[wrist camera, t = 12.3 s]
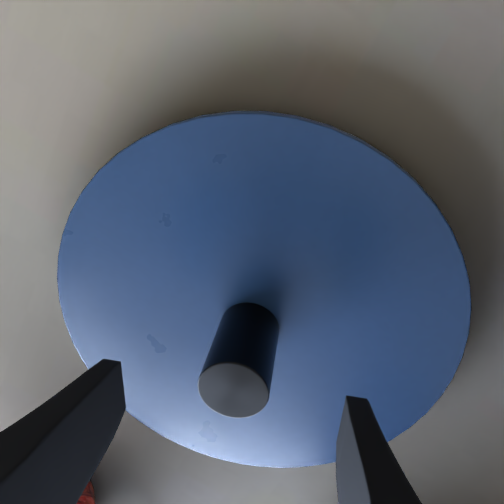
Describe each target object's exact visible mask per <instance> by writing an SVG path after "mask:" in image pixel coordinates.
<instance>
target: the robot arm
mask: <svg viewBox="0 0 504 504" xmlns="http://www.w3.org/2000/svg"><path fill="white" fill-rule="evenodd" d="M125 409H126V403H125V394H124V384H123V375H122V366H121V361H116V360H109V359H102V360H101V361H99V362H98V363H97V364H95V365H94V366H93V367H91V368H90V369H89V370H87V371H86V372H85V373H84V374H82V375H81V376H80V377H78V378H77V379H76V380H74V381H73V382H72V383H70V384H69V385H68V386H67V387H65V388H64V389H62V390H61V391H60V392H58V393H57V394H56V395H54V396H53V397H52V398H50V399H49V400H48V401H46V402H45V403H43V404H42V405H41V406H39V407H38V408H36V409H35V410H33V411H32V412H30V413H29V414H27V415H26V416H25V417H23V418H22V419H20V420H19V421H17V422H16V423H14V424H13V425H11V426H9V427H8V428H6V429H5V430H3V431H1V432H0V504H76V503H77V502H78V500H79V498H80V496H81V495H82V493H83V491H84V489H85V488H86V486H87V484H88V482H89V481H90V479H91V477H92V475H93V474H94V472H95V470H96V468H97V467H98V465H99V463H100V461H101V460H102V458H103V456H104V454H105V452H106V451H107V449H108V447H109V445H110V443H111V442H112V440H113V438H114V435H115V433H116V431H117V429H118V426H119V424H120V421H121V419H122V417H123V414H124V412H125ZM336 481H337V492H338V502H339V504H422V503H421V501H420V500H419V498H418V496H417V495H416V493H415V491H414V490H413V488H412V486H411V485H410V483H409V481H408V480H407V478H406V476H405V474H404V473H403V471H402V469H401V467H400V465H399V464H398V462H397V460H396V458H395V456H394V454H393V452H392V450H391V449H390V447H389V445H388V443H387V441H386V439H385V437H384V434H383V432H382V430H381V428H380V426H379V424H378V422H377V419H376V417H375V415H374V412H373V410H372V407H371V405H370V402H369V401H368V400H367V398H360V397H354V396H347V395H346V398H345V403H344V407H343V412H342V417H341V422H340V427H339V431H338V436H337V441H336Z"/></svg>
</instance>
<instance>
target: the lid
mask: <svg viewBox="0 0 504 504" xmlns="http://www.w3.org/2000/svg"><path fill="white" fill-rule="evenodd" d="M57 282H58V291H59V301H60V305H61V309H62V313H63V317H64V321H65V324H66V326H67V329H68V331H69V334H70V337H71V339H72V342H73V344H74V345H75V347H76V349H77V351H78V353H79V355H80V357H81V359H82V360H83V362H84V363H85V365H86V366H87V368H88V369H90V368H91V367H93V366H94V365H95V364H97V363H98V362H99V361H101V360H102V359H109V360H116V361H121V366H122V375H123V384H124V394H125V403H126V409H125V410H126V411H127V412H128V413H130V414H131V415H132V416H133V417H135V418H136V419H137V420H139V421H140V422H141V423H143V424H144V425H146V426H147V427H149V428H150V429H152V430H154V431H155V432H157V433H158V434H160V435H162V436H164V437H166V438H168V439H169V440H171V441H173V442H175V443H177V444H179V445H182V446H184V447H186V448H189V449H191V450H194V451H196V452H198V453H202V454H205V455H208V456H211V457H214V458H217V459H221V460H225V461H230V462H234V463H239V464H245V465H253V466H260V467H280V468H289V467H307V466H314V465H321V464H327V463H332V462H336V441H337V436H338V431H339V427H340V422H341V417H342V412H343V407H344V403H345V398H346V395H347V396H354V397H360V398H367V400H368V401H369V402H370V405H371V407H372V410H373V412H374V415H375V417H376V419H377V422H378V424H379V426H380V428H381V430H382V432H383V434H384V437H385V439H386V441H387V442H388V441H390V440H392V439H393V438H395V437H396V436H398V435H399V434H401V433H402V432H404V431H405V430H407V429H409V428H410V427H411V426H412V425H413V424H414V423H416V422H417V421H418V420H419V419H420V418H421V417H423V416H424V415H425V414H426V413H427V412H428V411H429V410H430V408H431V407H432V406H433V405H434V404H435V403H436V402H437V400H438V399H439V398H440V397H441V396H442V394H443V393H444V391H445V390H446V388H447V386H448V385H449V383H450V382H451V380H452V379H453V377H454V375H455V373H456V370H457V368H458V366H459V364H460V361H461V359H462V357H463V354H464V350H465V346H466V343H467V339H468V335H469V329H470V318H471V308H472V307H471V294H470V281H469V277H468V273H467V269H466V265H465V261H464V257H463V254H462V252H461V250H460V247H459V245H458V243H457V240H456V238H455V236H454V233H453V231H452V229H451V227H450V226H449V224H448V223H447V221H446V219H445V218H444V216H443V215H442V213H441V211H440V210H439V208H438V207H437V205H436V204H435V202H434V201H433V200H432V199H431V198H430V196H429V195H428V194H427V193H426V192H425V191H424V190H423V188H422V187H421V186H420V185H419V184H418V183H417V182H416V180H415V179H414V178H413V177H412V176H411V175H410V174H409V173H407V172H406V171H405V170H404V169H403V168H401V167H400V166H399V165H398V164H397V163H396V162H394V161H393V160H392V159H391V158H390V157H389V156H387V155H386V154H384V153H382V152H381V151H379V150H378V149H376V148H374V147H373V146H371V145H370V144H368V143H366V142H365V141H363V140H362V139H360V138H358V137H355V136H353V135H351V134H349V133H347V132H344V131H342V130H340V129H338V128H335V127H333V126H331V125H328V124H324V123H321V122H317V121H314V120H311V119H307V118H304V117H300V116H295V115H289V114H282V113H275V112H268V111H229V112H221V113H214V114H206V115H201V116H197V117H194V118H190V119H187V120H183V121H180V122H176V123H173V124H170V125H168V126H166V127H164V128H162V129H159V130H157V131H155V132H153V133H151V134H148V135H146V136H144V137H142V138H140V139H139V140H137V141H136V142H134V143H133V144H131V145H129V146H128V147H126V148H125V149H123V150H122V151H120V152H119V153H117V154H116V155H115V156H114V157H113V158H112V159H111V160H110V161H109V162H108V163H106V164H105V165H104V166H103V167H102V168H101V169H100V170H99V171H98V172H97V173H96V174H95V176H94V177H93V178H92V179H91V181H90V182H89V183H88V184H87V186H86V187H85V188H84V189H83V191H82V192H81V194H80V196H79V198H78V200H77V201H76V203H75V205H74V207H73V209H72V210H71V212H70V215H69V218H68V220H67V223H66V226H65V229H64V231H63V234H62V239H61V244H60V250H59V255H58V272H57Z"/></svg>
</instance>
